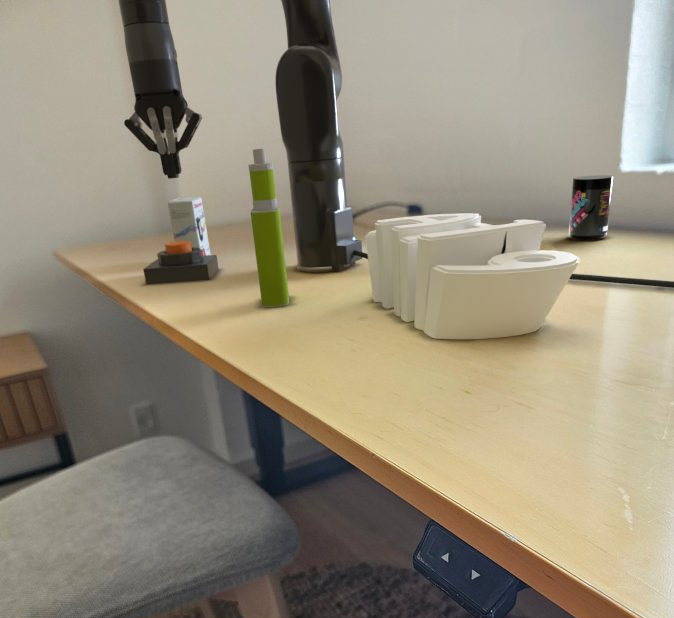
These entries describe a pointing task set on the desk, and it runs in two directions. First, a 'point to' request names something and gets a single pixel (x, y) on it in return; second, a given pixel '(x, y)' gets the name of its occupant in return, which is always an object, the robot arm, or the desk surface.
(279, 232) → the vape
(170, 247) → the power button
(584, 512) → the desk surface
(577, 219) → the supplement container
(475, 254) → the white wavy slab sculpture
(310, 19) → the robot arm
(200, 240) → the ink box
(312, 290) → the desk surface
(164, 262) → the push button base
